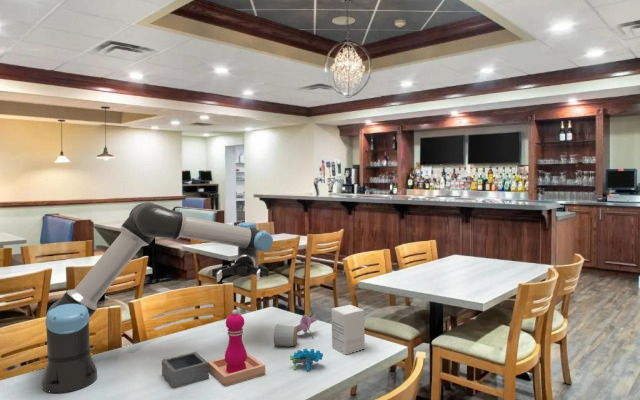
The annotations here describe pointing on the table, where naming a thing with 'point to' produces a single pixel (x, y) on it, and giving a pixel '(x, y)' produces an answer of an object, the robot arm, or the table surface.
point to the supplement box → (348, 329)
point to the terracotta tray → (251, 371)
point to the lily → (306, 323)
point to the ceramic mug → (285, 335)
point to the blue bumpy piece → (306, 357)
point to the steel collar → (185, 369)
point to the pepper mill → (235, 344)
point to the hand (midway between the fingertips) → (237, 277)
